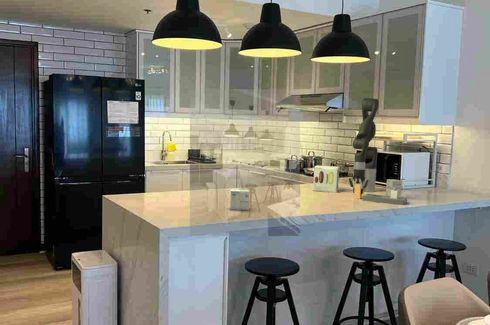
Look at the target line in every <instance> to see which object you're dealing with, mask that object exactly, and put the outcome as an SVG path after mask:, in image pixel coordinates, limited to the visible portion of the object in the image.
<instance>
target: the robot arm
mask: <svg viewBox="0 0 490 325" xmlns="http://www.w3.org/2000/svg"><path fill="white" fill-rule="evenodd" d="M379 103H380V102H379V99H377V98H371V97H364V98H363V99H362V100H361V113H362V115H361V116H362V121H361V123H360V125H359V129H358V133H357V134H356V136H355V138H354V139H353V141H352V148H353V149H355V150H361V151H360V152H356V153H355V154H354V162H353V174H352V175H353V176H352V177H349V178H348V183H349V185H350V187H352V188H353V189H352V193H353V194H354V190H355V184H356V183H359V184H361V194H362V195H363V194H364V192H366V193H374V192H376V178H377V162H378V161H377V160H378V153H379V152H378V148H377V147H375V146H370V142H371V141H372V140H373V139H374V137H375V136H376V133H377V132H376V130H377V126H376V123H375V122H374V119H375V117H376V115H377V112H378V111H379V106H380V105H379ZM369 112H370V114H369ZM366 160H371V161H370V162H367V163H366Z"/></svg>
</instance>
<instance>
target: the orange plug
mask: <svg viewBox="0 0 490 325" xmlns="http://www.w3.org/2000/svg"><path fill="white" fill-rule="evenodd" d="M353 194H354V195H353V199H355V200H363V194H361V184H359V183H356V184H355V190H354V193H353Z"/></svg>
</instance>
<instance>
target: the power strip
mask: <svg viewBox="0 0 490 325" xmlns="http://www.w3.org/2000/svg"><path fill="white" fill-rule="evenodd" d="M396 189H397V187H393V190H391V196H386V195H381V194H373V193H372V194H371V193H367V194H365V195H362V201H365V202H374V203H380V204H381V203H382V204H392V205H400V206H405V205H406V204H407V203H408V198H407V197H398V192H399V190H396Z"/></svg>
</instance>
